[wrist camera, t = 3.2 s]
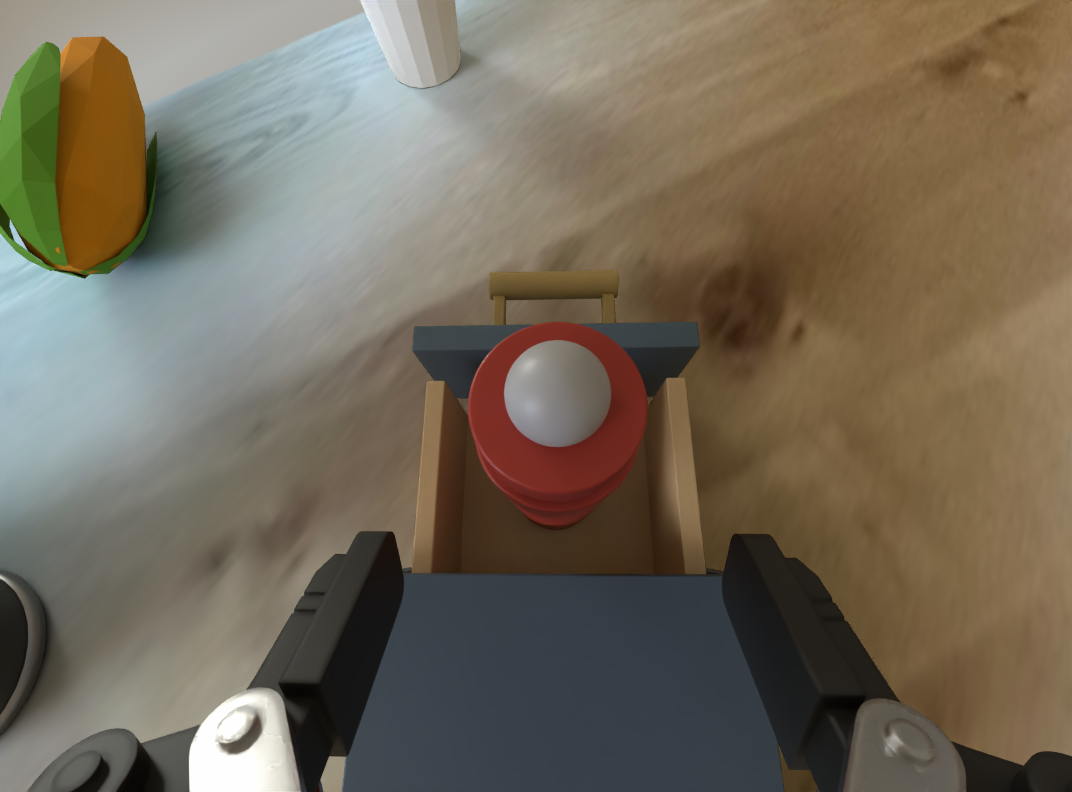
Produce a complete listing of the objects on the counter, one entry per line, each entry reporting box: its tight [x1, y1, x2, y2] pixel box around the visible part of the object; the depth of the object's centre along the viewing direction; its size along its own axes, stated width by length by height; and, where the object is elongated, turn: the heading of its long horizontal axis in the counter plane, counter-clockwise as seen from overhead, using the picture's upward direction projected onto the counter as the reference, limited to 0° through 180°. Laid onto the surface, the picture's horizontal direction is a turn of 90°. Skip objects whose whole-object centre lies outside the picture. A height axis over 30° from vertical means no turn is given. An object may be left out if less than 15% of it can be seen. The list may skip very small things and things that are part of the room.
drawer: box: [412, 270, 706, 574], centre depth 21 cm, size 19×12×7 cm, turn 0°
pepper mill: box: [468, 322, 648, 530], centre depth 15 cm, size 4×4×16 cm
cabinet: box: [342, 567, 785, 792], centre depth 17 cm, size 16×14×9 cm
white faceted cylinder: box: [360, 0, 461, 88], centre depth 33 cm, size 7×7×7 cm
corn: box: [0, 37, 157, 279], centre depth 30 cm, size 7×8×20 cm
